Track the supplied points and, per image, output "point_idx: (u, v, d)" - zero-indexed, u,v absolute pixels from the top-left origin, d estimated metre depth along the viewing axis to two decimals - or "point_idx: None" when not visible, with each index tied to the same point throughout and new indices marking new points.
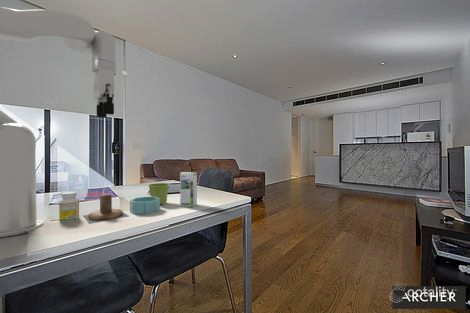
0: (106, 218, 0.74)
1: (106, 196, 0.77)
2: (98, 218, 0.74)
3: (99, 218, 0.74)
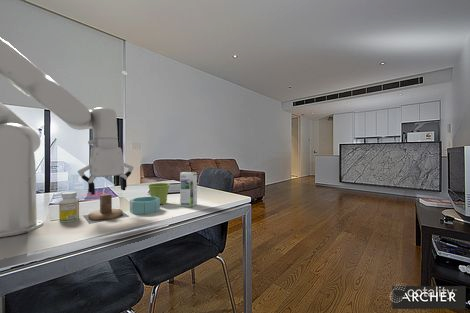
0: (106, 218, 0.74)
1: (106, 196, 0.77)
2: (98, 218, 0.74)
3: (99, 218, 0.74)
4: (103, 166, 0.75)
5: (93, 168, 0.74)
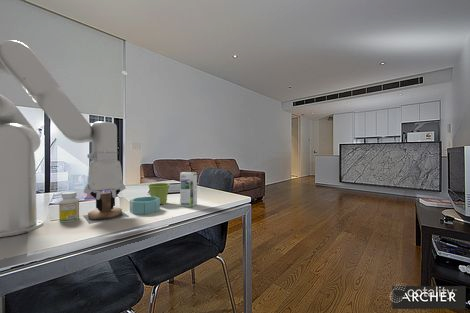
0: (106, 217, 0.75)
1: (106, 195, 0.78)
2: (98, 217, 0.74)
3: (99, 217, 0.74)
4: (101, 180, 0.75)
5: (91, 182, 0.73)
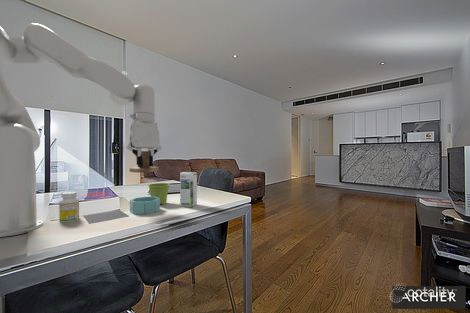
0: (146, 171, 0.82)
1: (145, 152, 0.85)
2: (139, 170, 0.81)
3: (140, 170, 0.81)
4: (142, 138, 0.82)
5: (134, 139, 0.80)
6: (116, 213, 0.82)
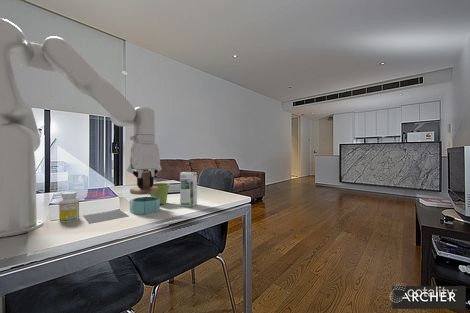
0: (147, 193, 0.82)
1: (145, 173, 0.85)
2: (140, 192, 0.81)
3: (141, 192, 0.81)
4: (143, 160, 0.82)
5: (134, 162, 0.81)
6: (116, 213, 0.82)
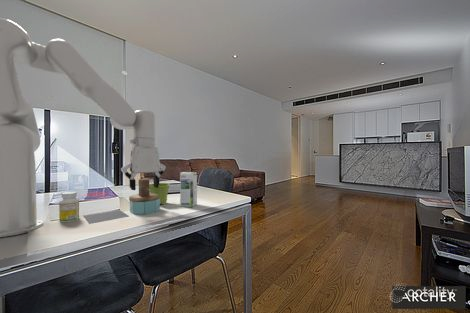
0: (146, 200, 0.82)
1: (145, 180, 0.85)
2: (139, 200, 0.81)
3: (140, 200, 0.81)
4: (142, 163, 0.82)
5: (134, 165, 0.81)
6: (116, 213, 0.82)
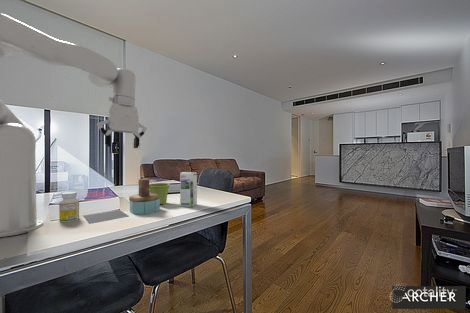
0: (146, 200, 0.82)
1: (145, 180, 0.85)
2: (139, 200, 0.81)
3: (140, 200, 0.81)
4: (120, 121, 0.82)
5: (111, 122, 0.80)
6: (116, 213, 0.82)
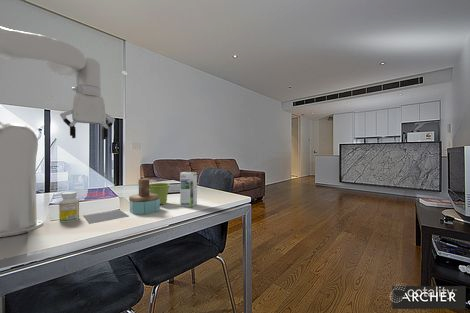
0: (146, 200, 0.82)
1: (145, 180, 0.85)
2: (139, 200, 0.81)
3: (140, 200, 0.81)
4: (85, 112, 0.80)
5: (75, 112, 0.78)
6: (116, 213, 0.82)
